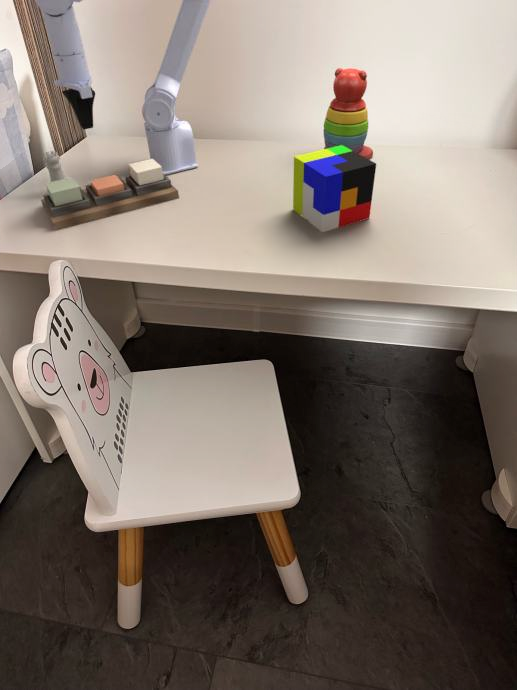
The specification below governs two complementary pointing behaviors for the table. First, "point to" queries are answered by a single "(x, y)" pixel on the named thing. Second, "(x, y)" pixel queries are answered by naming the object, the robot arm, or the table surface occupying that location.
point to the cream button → (146, 171)
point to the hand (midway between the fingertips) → (87, 127)
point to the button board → (108, 202)
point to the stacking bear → (348, 113)
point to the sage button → (64, 191)
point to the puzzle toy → (333, 187)
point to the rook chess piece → (53, 166)
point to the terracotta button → (106, 185)
